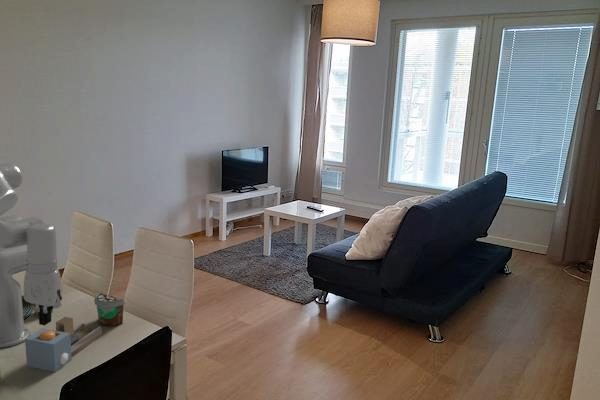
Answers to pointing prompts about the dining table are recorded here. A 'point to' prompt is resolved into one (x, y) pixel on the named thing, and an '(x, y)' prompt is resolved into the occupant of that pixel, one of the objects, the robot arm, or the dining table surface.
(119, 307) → the food container
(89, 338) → the rail
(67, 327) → the carriage
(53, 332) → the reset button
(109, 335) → the dining table surface
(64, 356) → the blue-grey box
